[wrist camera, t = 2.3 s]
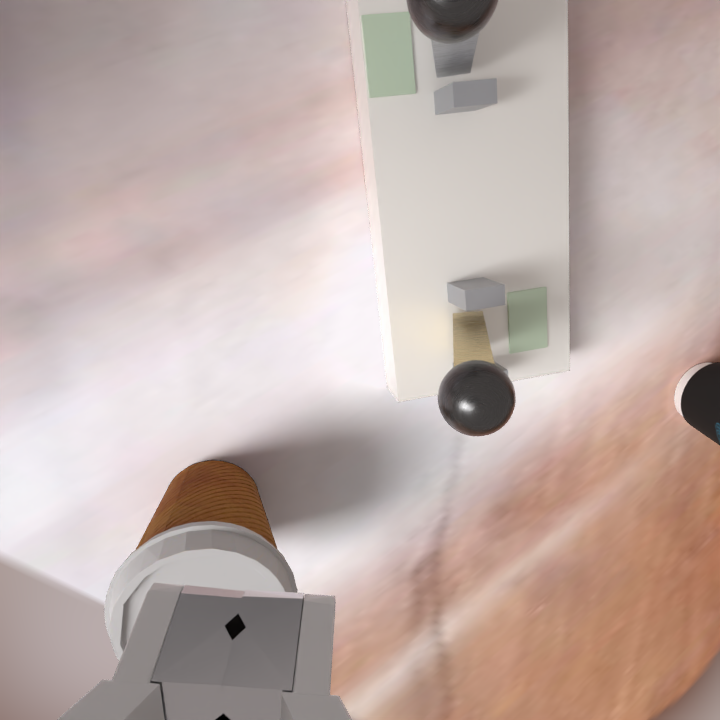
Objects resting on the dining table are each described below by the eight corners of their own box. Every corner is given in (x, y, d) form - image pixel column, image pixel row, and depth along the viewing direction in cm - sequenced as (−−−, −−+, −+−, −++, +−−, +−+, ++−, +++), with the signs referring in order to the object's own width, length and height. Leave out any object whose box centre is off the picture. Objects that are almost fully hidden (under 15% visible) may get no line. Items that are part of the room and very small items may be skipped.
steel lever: (422, 86, 32) (407, 40, 20) (417, 16, 31) (398, -73, 19) (485, 76, 31) (506, 24, 20) (482, 5, 30) (502, -94, 19)
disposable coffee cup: (195, 411, 38) (177, 504, 26) (309, 484, 41) (337, 596, 29) (109, 520, 39) (56, 656, 27) (227, 584, 42) (224, 730, 30)
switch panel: (386, 387, 40) (411, 419, 34) (344, -9, 33) (367, -51, 27) (547, 358, 42) (595, 384, 36) (540, -22, 35) (599, -64, 29)
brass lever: (443, 361, 37) (440, 451, 25) (439, 309, 36) (434, 377, 24) (498, 358, 36) (520, 448, 24) (495, 305, 35) (518, 372, 23)
